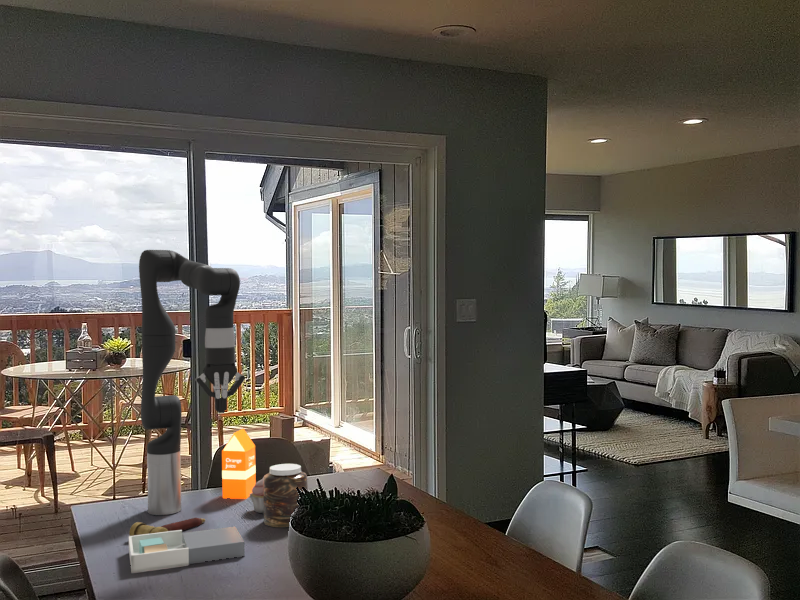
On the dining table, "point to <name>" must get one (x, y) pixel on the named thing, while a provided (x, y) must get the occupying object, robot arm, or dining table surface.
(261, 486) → the cupcake
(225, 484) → the orange juice
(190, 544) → the board
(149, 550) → the thick tan wooden block
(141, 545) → the seafoam green cuboid
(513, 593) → the dining table surface
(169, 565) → the tray
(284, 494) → the jar
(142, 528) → the gavel
